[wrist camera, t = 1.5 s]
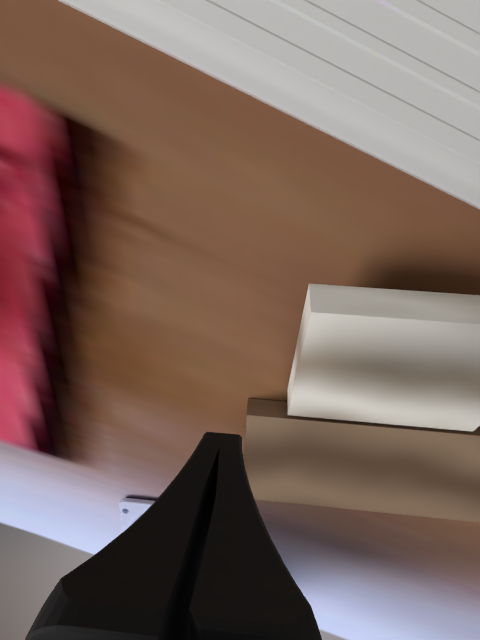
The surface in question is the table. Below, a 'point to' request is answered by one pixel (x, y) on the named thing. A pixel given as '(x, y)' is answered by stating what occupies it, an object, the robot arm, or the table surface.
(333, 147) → the table surface
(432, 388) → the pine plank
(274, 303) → the table surface
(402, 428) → the walnut floor board
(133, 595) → the robot arm
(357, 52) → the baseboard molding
